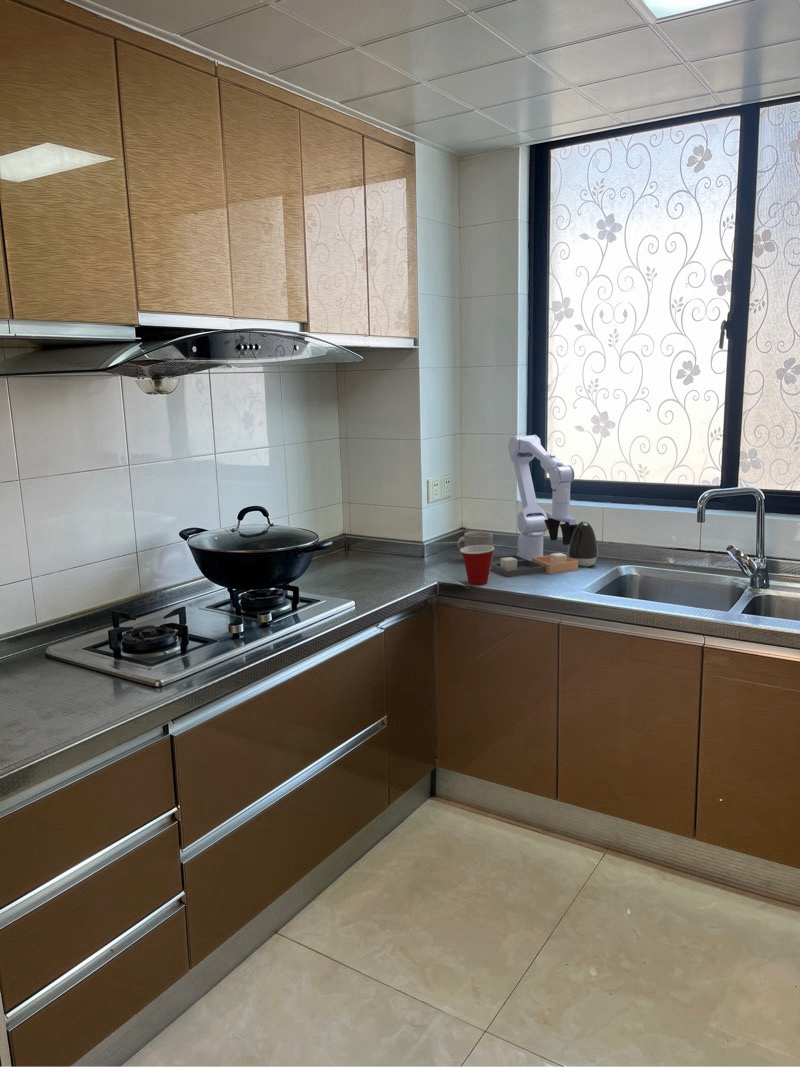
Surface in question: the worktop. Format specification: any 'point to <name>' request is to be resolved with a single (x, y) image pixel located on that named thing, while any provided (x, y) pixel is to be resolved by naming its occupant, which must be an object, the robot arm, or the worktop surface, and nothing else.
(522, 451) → the robot arm
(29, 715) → the worktop surface
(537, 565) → the parts tray
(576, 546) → the dark grey rounded dome
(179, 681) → the worktop surface
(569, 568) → the terracotta dish
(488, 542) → the coffee mug
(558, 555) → the stone
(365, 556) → the worktop surface
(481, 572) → the plastic cup
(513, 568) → the stone
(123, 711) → the worktop surface
